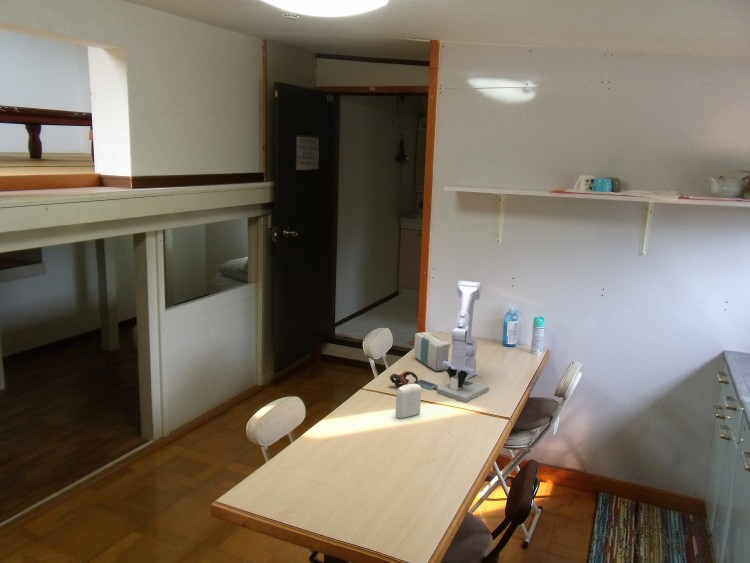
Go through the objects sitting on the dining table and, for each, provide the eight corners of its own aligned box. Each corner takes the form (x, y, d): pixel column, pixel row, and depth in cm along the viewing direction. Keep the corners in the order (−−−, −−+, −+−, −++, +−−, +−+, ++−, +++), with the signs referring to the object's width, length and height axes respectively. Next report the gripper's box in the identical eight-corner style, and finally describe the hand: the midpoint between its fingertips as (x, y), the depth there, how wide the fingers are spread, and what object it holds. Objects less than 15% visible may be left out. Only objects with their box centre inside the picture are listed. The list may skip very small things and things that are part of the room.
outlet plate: (460, 382, 272) (461, 377, 271) (488, 391, 263) (488, 385, 262) (436, 393, 258) (437, 387, 258) (465, 402, 249) (465, 397, 249)
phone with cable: (414, 384, 267) (414, 381, 267) (420, 381, 270) (420, 379, 270) (437, 392, 259) (437, 389, 259) (443, 389, 262) (444, 386, 262)
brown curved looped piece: (413, 384, 269) (420, 371, 264) (413, 400, 262) (419, 388, 257) (387, 377, 268) (393, 364, 263) (386, 393, 260) (392, 381, 255)
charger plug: (455, 389, 262) (456, 375, 261) (461, 391, 260) (462, 377, 259) (449, 392, 259) (450, 377, 258) (456, 394, 257) (457, 379, 256)
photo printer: (415, 410, 241) (416, 380, 238) (421, 414, 237) (423, 384, 234) (393, 415, 235) (394, 385, 232) (400, 419, 231) (401, 388, 229)
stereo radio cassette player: (412, 358, 301) (414, 319, 296) (427, 356, 304) (429, 317, 300) (434, 372, 282) (437, 331, 278) (449, 370, 286) (452, 329, 281)
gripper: (438, 353, 259) (437, 383, 261) (468, 361, 249) (465, 393, 252) (448, 349, 264) (446, 379, 267) (477, 358, 255) (475, 388, 257)
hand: (456, 386), depth 260 cm, fingers closed on charger plug, 3 cm apart
